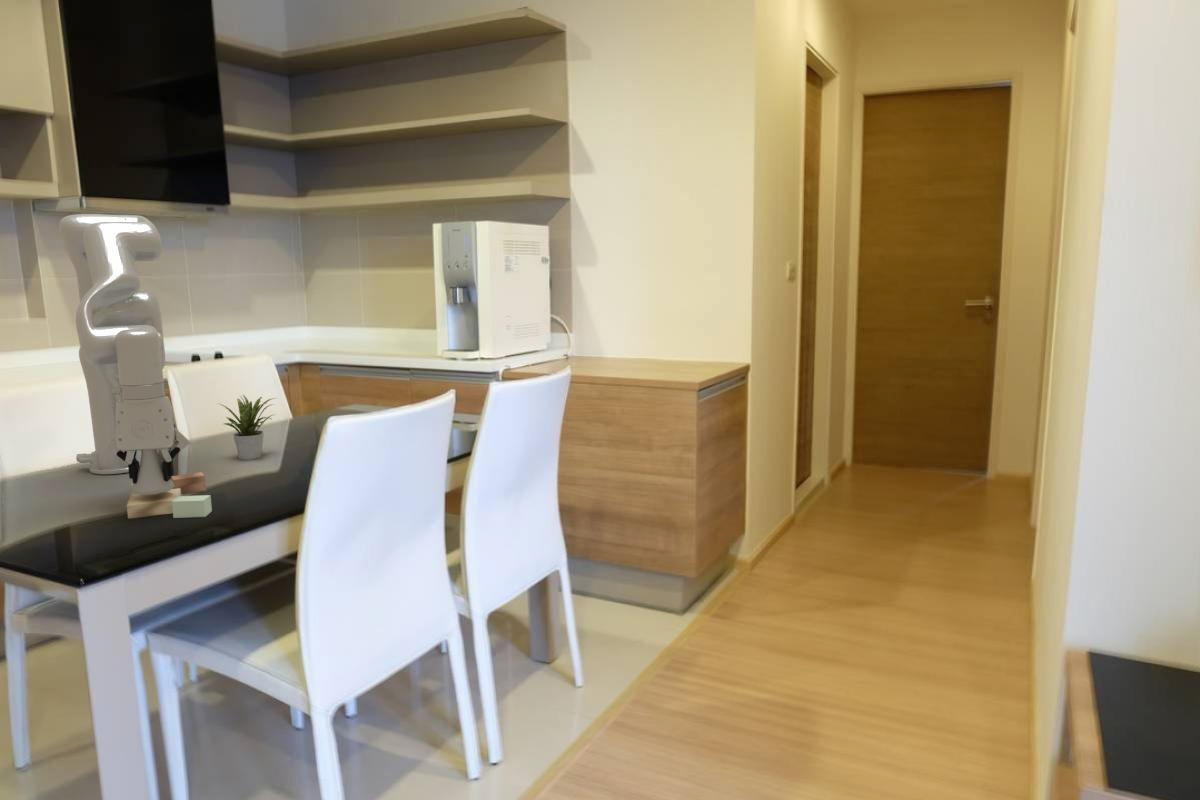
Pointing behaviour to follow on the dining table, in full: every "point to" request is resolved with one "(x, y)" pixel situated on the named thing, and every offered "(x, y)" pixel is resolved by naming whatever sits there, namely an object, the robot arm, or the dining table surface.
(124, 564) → the dining table surface
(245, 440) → the house plant
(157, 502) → the oak block
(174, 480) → the cherry brick
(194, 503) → the sage brick
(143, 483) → the flask
